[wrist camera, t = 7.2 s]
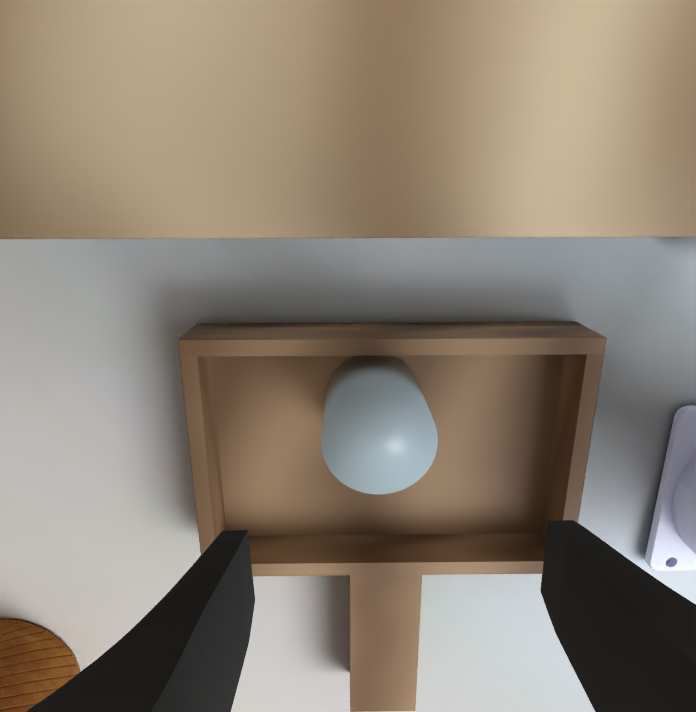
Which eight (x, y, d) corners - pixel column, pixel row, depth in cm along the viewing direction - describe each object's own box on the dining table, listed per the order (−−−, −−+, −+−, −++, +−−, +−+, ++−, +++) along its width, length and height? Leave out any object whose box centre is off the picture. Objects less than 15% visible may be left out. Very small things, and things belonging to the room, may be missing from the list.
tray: (576, 321, 20) (606, 338, 18) (529, 671, 25) (547, 717, 23) (197, 323, 20) (178, 339, 18) (229, 674, 25) (218, 721, 23)
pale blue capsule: (417, 440, 21) (434, 494, 17) (325, 440, 21) (321, 494, 17) (422, 352, 20) (441, 389, 16) (325, 351, 20) (320, 388, 16)
